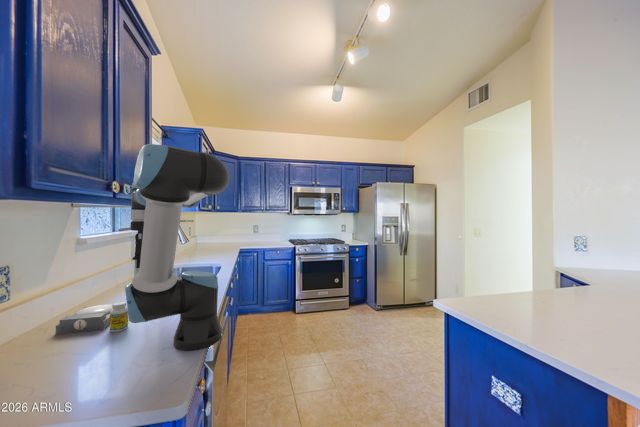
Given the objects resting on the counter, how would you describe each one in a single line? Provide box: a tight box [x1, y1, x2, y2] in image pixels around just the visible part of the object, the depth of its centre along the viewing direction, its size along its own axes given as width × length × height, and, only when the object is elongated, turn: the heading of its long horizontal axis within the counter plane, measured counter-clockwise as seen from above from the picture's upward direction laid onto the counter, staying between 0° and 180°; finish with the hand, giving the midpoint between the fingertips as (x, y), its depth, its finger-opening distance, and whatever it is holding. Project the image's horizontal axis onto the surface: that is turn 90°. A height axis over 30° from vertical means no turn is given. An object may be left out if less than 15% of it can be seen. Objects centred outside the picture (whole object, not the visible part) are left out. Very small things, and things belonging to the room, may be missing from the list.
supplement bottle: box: [109, 301, 129, 333], centre depth 95 cm, size 5×5×10 cm
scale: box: [55, 304, 113, 335], centre depth 100 cm, size 18×14×5 cm
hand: (140, 272), depth 104 cm, fingers open, 13 cm apart
